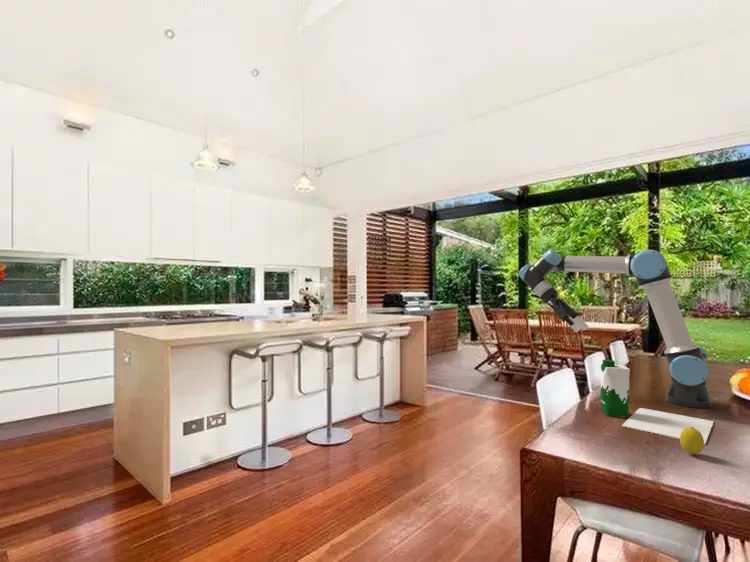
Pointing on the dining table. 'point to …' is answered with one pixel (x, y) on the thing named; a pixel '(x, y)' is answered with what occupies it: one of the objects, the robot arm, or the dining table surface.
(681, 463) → the dining table surface
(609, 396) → the soya milk
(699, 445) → the lemon
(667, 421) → the mat
